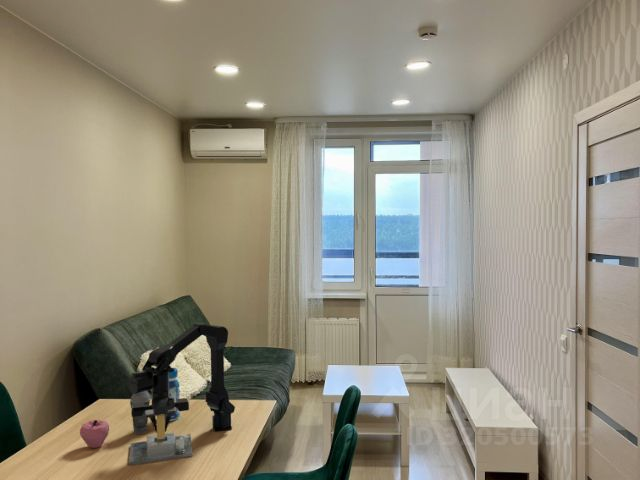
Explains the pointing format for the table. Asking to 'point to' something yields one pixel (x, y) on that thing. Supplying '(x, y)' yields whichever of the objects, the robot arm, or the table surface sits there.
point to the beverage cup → (141, 421)
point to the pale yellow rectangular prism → (161, 426)
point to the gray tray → (160, 449)
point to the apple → (94, 432)
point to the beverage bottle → (174, 391)
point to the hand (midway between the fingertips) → (160, 431)
